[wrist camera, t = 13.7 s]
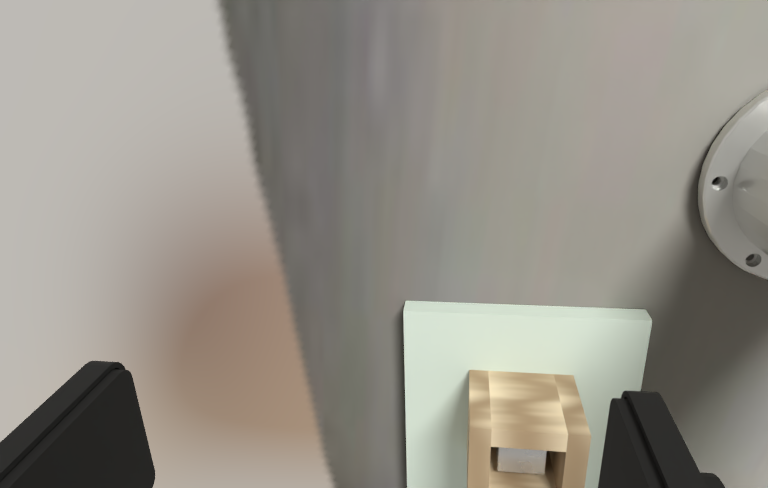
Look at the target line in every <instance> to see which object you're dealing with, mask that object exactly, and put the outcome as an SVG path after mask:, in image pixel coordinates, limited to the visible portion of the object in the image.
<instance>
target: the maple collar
mask: <svg viewBox="0 0 768 488" xmlns="http://www.w3.org/2000/svg"><path fill="white" fill-rule="evenodd" d="M590 443H591V433H590V430H589V426H588V423H587V420H586V416H585V413H584V409H583V406H582V403H581V399H580V396H579V392H578V389H577V386H576V382H575V379H574V375H560V374H541V373H522V372H503V371H484V370H469V396H468V429H467V488H584V487H585V480H586V472H587V465H588V457H589V450H590ZM496 447H501V448H515V449H529V450H543V451H547V453H546V463H545V473H544V475H542V474H529V473H516V472H503V471H498V470H497V455H496Z"/></svg>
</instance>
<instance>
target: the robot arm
mask: <svg viewBox="0 0 768 488" xmlns="http://www.w3.org/2000/svg"><path fill="white" fill-rule="evenodd" d="M716 177H718V179H717V181H716V182H715V183H712V181H713V180H714V179H715V178H716ZM698 207H699V212H700V217H701V221H702V224H703V226H704V228H705V230H706V232H707V234H708V237H709V238H710V239H711V241H712V242H713V243H714V244H715V246H716V247H717V248H718V250H719V251H720V252H721V253H723V254H724V255H725V256H726V257H727V258H728V259H729V260H730V261H731V262H732V263H734V264H735V265H737V266H738V267H740V268H741V269H743V270H744V271H746V272H748V273H751V274H753V275H756V276H758V277H761V278H763V279H766V280H768V90H766V91H764V92H762V93H761V94H759V95H758V96H757V97H755V98H754V99H753V100H752V101H750V102H749V103H748V104H746V105H745V106H744V107H742V108H741V109H740V110H739V111H738V112H737V113H736V115H735V116H734V117H733V118H732V119H731V120H730V121H729V122H728V123H727V124H726V125H725V126H724V128H723V129H722V131H721V132H720V134H719V135H718V136H717V138H716V139H715V141H714V142H713V144H712V145H711V148H710V150H709V152H708V154H707V157H706V159H705V161H704V163H703V166H702V171H701V175H700V179H699V183H698ZM749 255H750V256H749ZM748 256H749V257H748ZM154 480H155V470H154V466H153V461H152V458H151V453H150V449H149V445H148V441H147V436H146V432H145V428H144V424H143V420H142V416H141V411H140V407H139V403H138V399H137V395H136V391H135V386H134V382H133V378H132V375H131V373H130V372H129V371H128V370H125V367H124V366H123V365H122V364H121V363H119V362H104V361H91V362H89V363H87V364H85V365H84V366H83V367H82V368H81V369H80V370H79V371H78V372H77V373H76V374H75V375H73V376H72V377H71V378H70V379H69V380H68V381H67V382H66V383H65V384H64V385H63V386H61V387H60V388H59V389H58V390H57V391H56V392H55V393H54V394H53V395H52V396H51V397H49V398H48V399H47V400H46V401H45V402H44V403H43V404H42V405H41V406H40V407H39V408H38V409H36V410H35V411H34V412H33V413H32V414H31V415H30V416H29V417H28V418H26V419H25V420H24V421H23V422H22V423H21V424H20V425H19V426H18V427H17V428H16V429H15V430H14V431H12V432H11V433H10V434H9V435H8V436H7V437H6V438H5V439H4V440H2V441H1V442H0V488H152V487H153V484H154ZM598 488H725V487H724V485H723V483H722V482H721V481H720V479H719V478H718V477H717V476H716V475H714V474H712V473H700V472H699V470H698V468H697V466H696V464H695V462H694V460H693V458H692V456H691V454H690V452H689V450H688V448H687V446H686V444H685V442H684V440H683V438H682V436H681V434H680V432H679V430H678V428H677V426H676V424H675V422H674V420H673V418H672V416H671V414H670V413H669V411H668V409H667V407H666V405H665V403H664V401H663V399H662V397H661V395H660V394H659V393H657V392H644V391H626V390H625V391H623V393H622V395H621V398H612V400H611V403H610V408H609V415H608V422H607V429H606V435H605V442H604V449H603V456H602V463H601V470H600V476H599V483H598Z"/></svg>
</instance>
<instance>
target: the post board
mask: <svg viewBox="0 0 768 488" xmlns="http://www.w3.org/2000/svg"><path fill="white" fill-rule="evenodd" d="M403 319H404V366H405V413H406V459H407V488H467V429H468V396H469V370H484V371H503V372H522V373H541V374H560V375H574V379H575V382H576V386H577V389H578V392H579V396H580V399H581V403H582V406H583V409H584V413H585V416H586V420H587V423H588V426H589V430H590V433H591V443H590V450H589V457H588V465H587V472H586V480H585V487H584V488H598V483H599V476H600V470H601V463H602V456H603V449H604V442H605V435H606V429H607V422H608V415H609V408H610V403H611V400H612V398H621V395H622V393H623V391H625V390H626V391H641V385H642V380H643V374H644V368H645V362H646V356H647V350H648V344H649V338H650V332H651V326H652V319H651V318H650V316H649V314H648V313H647V311H646V309H620V308H592V307H565V306H537V305H510V304H482V303H455V302H427V301H405V306H404V310H403ZM546 453H547V451H543V450H529V449H515V448H501V447H496V455H497V470H498V471H503V472H516V473H529V474H542V475H544V473H545V463H546Z"/></svg>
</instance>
